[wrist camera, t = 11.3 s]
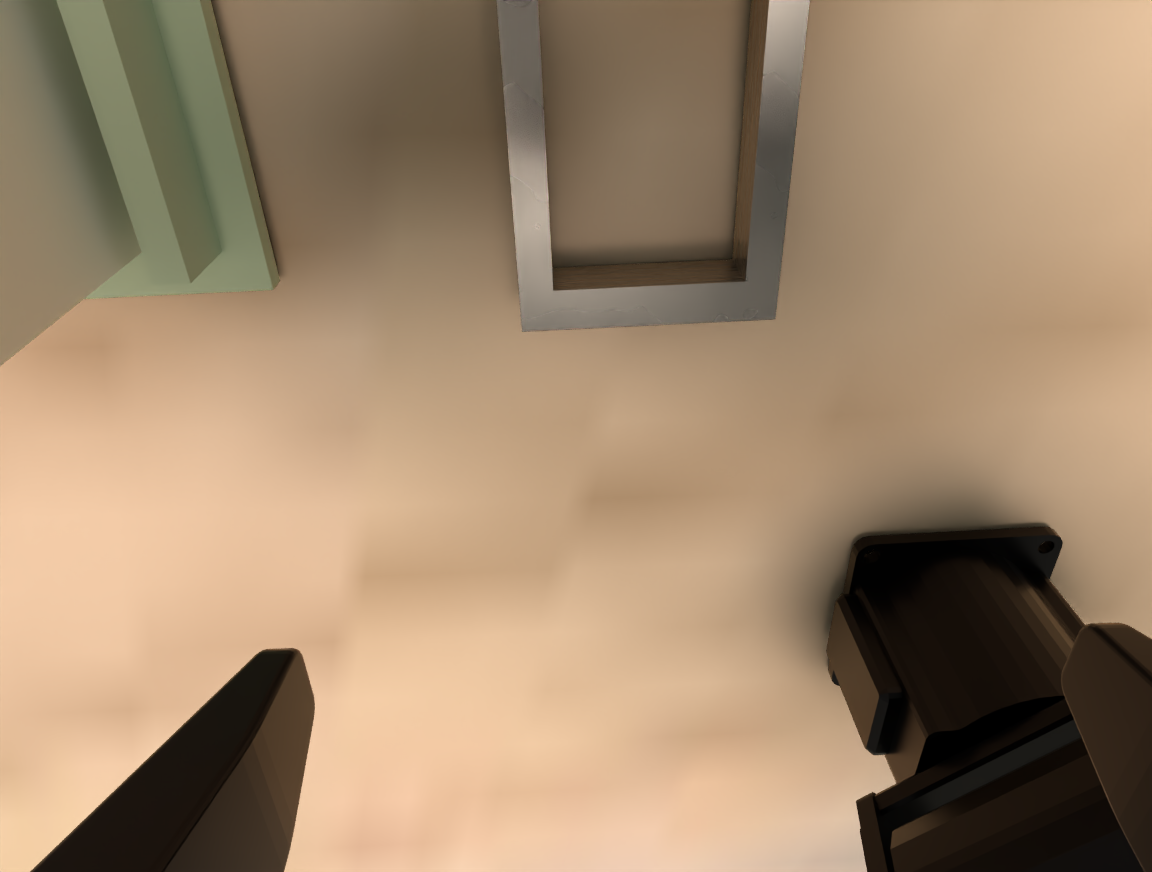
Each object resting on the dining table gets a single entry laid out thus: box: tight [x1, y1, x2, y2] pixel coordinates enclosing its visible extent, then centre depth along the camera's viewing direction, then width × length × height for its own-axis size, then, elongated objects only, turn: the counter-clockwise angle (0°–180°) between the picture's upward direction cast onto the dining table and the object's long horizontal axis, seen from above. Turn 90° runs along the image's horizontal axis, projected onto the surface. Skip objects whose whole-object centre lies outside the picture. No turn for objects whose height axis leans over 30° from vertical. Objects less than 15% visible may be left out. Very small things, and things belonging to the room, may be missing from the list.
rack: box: [496, 0, 810, 332], centre depth 17 cm, size 6×11×2 cm, turn 2°
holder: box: [56, 0, 280, 299], centre depth 16 cm, size 8×9×3 cm
